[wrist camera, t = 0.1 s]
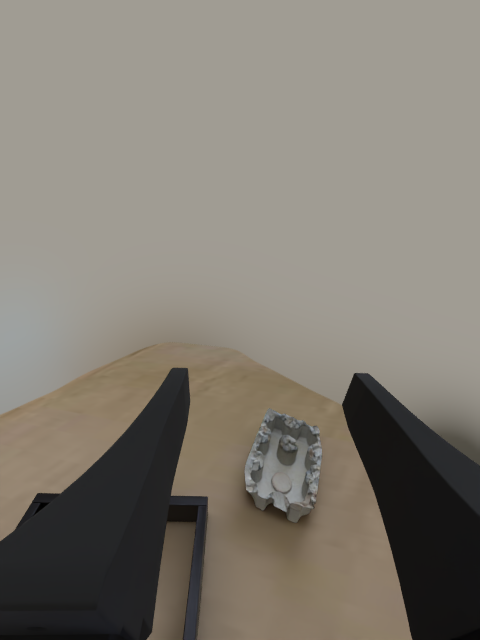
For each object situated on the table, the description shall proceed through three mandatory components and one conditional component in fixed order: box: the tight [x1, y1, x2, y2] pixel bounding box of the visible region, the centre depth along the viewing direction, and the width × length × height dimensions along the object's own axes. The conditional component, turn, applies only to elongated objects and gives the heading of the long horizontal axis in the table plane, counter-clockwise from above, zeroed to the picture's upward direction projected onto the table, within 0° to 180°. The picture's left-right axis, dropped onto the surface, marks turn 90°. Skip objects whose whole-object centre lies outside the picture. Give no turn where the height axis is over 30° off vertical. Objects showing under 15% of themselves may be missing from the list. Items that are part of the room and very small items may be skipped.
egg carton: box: [245, 408, 322, 523], centre depth 30 cm, size 11×8×4 cm
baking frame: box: [14, 493, 208, 640], centre depth 19 cm, size 15×16×3 cm
